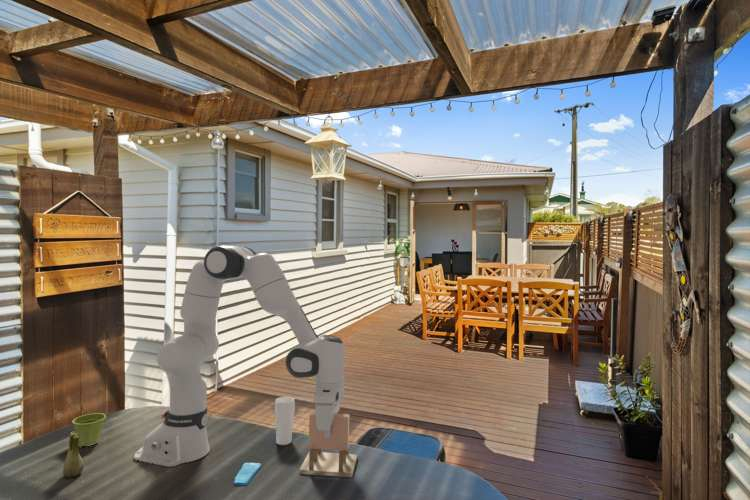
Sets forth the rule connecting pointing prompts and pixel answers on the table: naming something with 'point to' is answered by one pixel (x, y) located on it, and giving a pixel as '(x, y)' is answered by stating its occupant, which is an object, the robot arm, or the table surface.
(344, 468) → the slot rack
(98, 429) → the plant pot
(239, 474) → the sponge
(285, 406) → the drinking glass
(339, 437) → the ceramic tile
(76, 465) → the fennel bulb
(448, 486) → the table surface
